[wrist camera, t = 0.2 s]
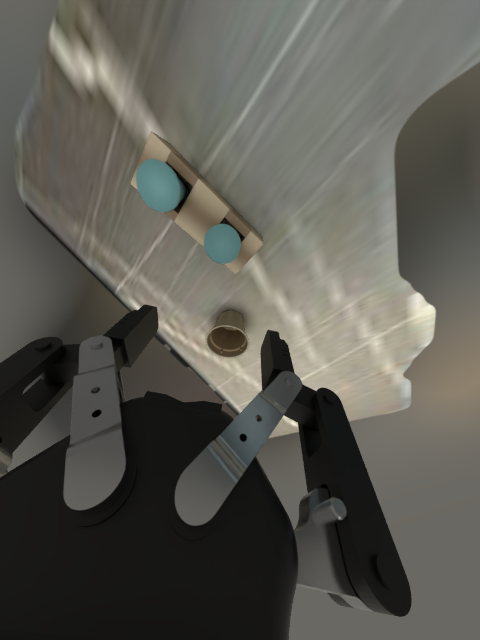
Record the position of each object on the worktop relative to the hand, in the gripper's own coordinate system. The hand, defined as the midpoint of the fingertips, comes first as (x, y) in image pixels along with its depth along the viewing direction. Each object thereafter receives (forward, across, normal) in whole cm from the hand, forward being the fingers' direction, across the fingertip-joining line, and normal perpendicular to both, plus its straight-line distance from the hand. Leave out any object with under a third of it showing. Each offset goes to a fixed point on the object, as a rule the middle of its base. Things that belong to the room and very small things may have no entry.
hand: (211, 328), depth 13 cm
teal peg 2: (+23, +2, -2) cm, 23 cm away
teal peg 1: (+23, +11, -7) cm, 26 cm away
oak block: (+27, +6, -5) cm, 28 cm away
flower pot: (+27, -2, +18) cm, 33 cm away
